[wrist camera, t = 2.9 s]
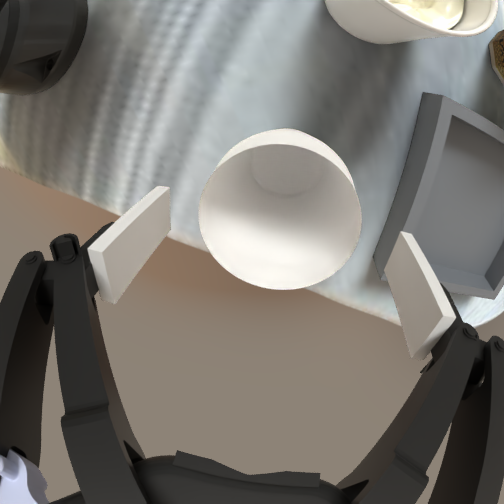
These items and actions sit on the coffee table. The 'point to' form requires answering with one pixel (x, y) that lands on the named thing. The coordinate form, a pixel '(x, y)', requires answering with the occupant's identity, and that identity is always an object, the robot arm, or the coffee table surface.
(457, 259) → the tray
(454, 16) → the candle holder
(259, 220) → the cup
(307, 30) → the coffee table surface
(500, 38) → the ceramic cup
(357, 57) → the coffee table surface
